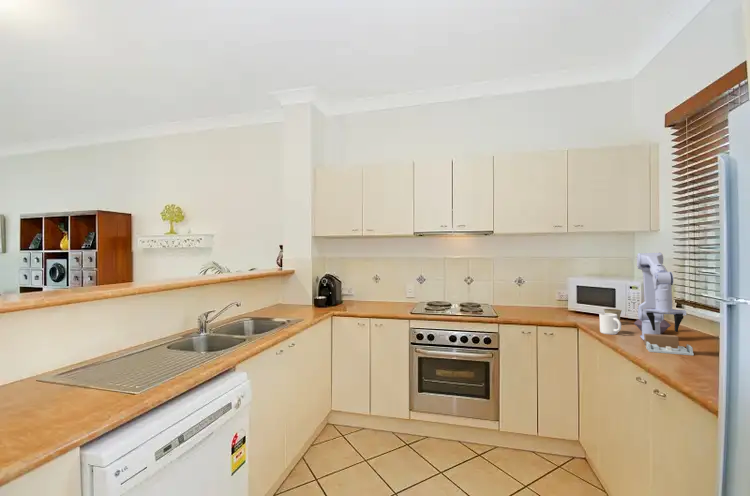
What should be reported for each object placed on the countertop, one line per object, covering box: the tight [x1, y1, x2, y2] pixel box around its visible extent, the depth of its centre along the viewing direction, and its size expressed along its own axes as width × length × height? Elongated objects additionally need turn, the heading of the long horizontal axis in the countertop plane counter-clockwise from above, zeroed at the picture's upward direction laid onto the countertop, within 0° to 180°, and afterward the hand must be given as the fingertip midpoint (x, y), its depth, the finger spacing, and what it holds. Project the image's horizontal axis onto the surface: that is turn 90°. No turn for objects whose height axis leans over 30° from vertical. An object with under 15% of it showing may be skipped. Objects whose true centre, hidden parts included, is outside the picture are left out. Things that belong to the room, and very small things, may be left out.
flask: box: [633, 308, 672, 335], centre depth 196 cm, size 16×16×20 cm
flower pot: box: [603, 308, 623, 322], centre depth 219 cm, size 9×9×9 cm
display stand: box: [645, 342, 694, 356], centre depth 158 cm, size 7×15×3 cm, turn 62°
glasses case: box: [643, 334, 680, 349], centre depth 166 cm, size 4×12×6 cm, turn 63°
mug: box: [598, 312, 622, 336], centre depth 194 cm, size 12×8×10 cm
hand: (664, 330), depth 156 cm, fingers open, 7 cm apart
